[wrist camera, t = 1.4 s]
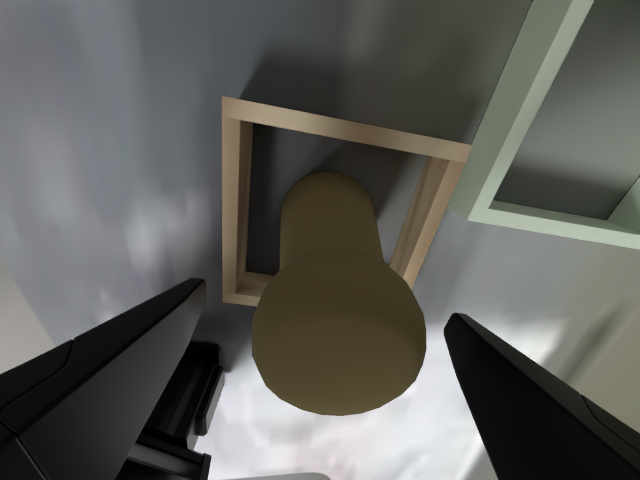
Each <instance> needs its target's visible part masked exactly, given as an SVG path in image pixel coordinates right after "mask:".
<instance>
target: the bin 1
mask: <svg viewBox="0 0 640 480" xmlns="http://www.w3.org/2000/svg"><path fill="white" fill-rule="evenodd" d="M253 122H254V123H259V124H264V125H270V126H275V127H280V128H285V129H291V130H296V131H301V132H306V133H312V134H317V135H322V136H327V137H333V138H338V139H343V140H348V141H354V142H359V143H364V144H369V145H375V146H380V147H385V148H390V149H396V150H401V151H406V152H411V153H417V154H422V155H427V156H428V158H427V160H426V163H425V166H424V169H423V172H422V174H421V177H420V180H419V183H418V186H417V188H416V191H415V194H414V197H413V200H412V202H411V205H410V208H409V211H408V213H407V216H406V219H405V222H404V225H403V227H402V230H401V233H400V236H399V239H398V241H397V244H396V247H395V250H394V253H393V255H392V258H391V261H390V264H389V267H390V268H392V269H393V270H394V271H395V272H396V273H397V274H398V275H400V276H401V277H402V278H403V279H404V280H405V281H406V282H407V284H408V285H409V287H410V289H412V287H413V284H414V282H415V280H416V277H417V275H418V273H419V270H420V268H421V266H422V263H423V261H424V259H425V256H426V254H427V252H428V249H429V247H430V245H431V242H432V240H433V238H434V235H435V233H436V231H437V228H438V226H439V224H440V221H441V219H442V217H443V214H444V212H445V210H446V207H447V205H448V203H449V200H450V198H451V196H452V193H453V191H454V189H455V186H456V184H457V182H458V179H459V177H460V175H461V172H462V170H463V168H464V165H465V163H466V161H467V158H468V156H469V154H470V151H471V149H472V147H473V145H468V144H463V143H458V142H453V141H448V140H443V139H438V138H433V137H428V136H423V135H418V134H413V133H408V132H403V131H398V130H393V129H388V128H383V127H378V126H373V125H367V124H362V123H357V122H352V121H347V120H342V119H337V118H332V117H327V116H322V115H317V114H312V113H307V112H302V111H297V110H292V109H286V108H281V107H276V106H271V105H266V104H261V103H256V102H251V101H246V100H241V99H236V98H230V97H225V96H222V302H225V303H233V304H240V305H248V306H256V307H257V305H258V302H259V300H260V298H261V295H262V293H263V291H264V289H265V287H266V286H267V284H268V283H269V282H270V281H271V279H272V278H273V277H274V275H267V274H260V273H253V272H246V257H247V236H248V215H249V195H250V174H251V153H252V133H253Z"/></svg>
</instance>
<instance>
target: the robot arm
mask: <svg viewBox="0 0 640 480" xmlns="http://www.w3.org/2000/svg"><path fill="white" fill-rule="evenodd" d="M205 302H206V282H205V280H204V279H201V278H190V279H188V280H186V281H184V282H182V283H180V284H178V285H176V286H174V287H172V288H170V289H168V290H166V291H165V292H163V293H161V294H159V295H157V296H155V297H153V298H151V299H149V300H147V301H145V302H143V303H141V304H139V305H137V306H135V307H133V308H132V309H130V310H128V311H126V312H124V313H122V314H120V315H118V316H116V317H114V318H112V319H110V320H108V321H106V322H104V323H102V324H100V325H98V326H97V327H95V328H93V329H91V330H89V331H87V332H85V333H83V334H81V335H79V336H77V337H75V338H74V340H69V341H67V342H65V343H63V344H61V345H59V346H57V347H55V348H54V349H52V350H50V351H48V352H46V353H44V354H41V355H40V356H37V357H35V358H34V359H31V360H29V361H27V362H25V363H23V364H21V365H19V366H17V367H15V368H13V369H10V370H8V371H6V372H4V373H2V374H0V480H207V479H208V474H209V468H210V462H211V455H209V454H206V453H204V454H201V453H198V452H196V451H193V450H194V447H195V444H196V441H197V439H198V436H204V435H206V434H207V432H208V429H209V427H210V424H211V421H212V418H213V415H214V412H215V409H216V406H217V403H218V401H219V398H220V395H221V392H222V389H223V386H224V368H223V366H221V349H220V347H219V346H217V345H214V344H205V343H196V342H190V339H191V337H192V335H193V332H194V330H195V327H196V325H197V322H198V320H199V318H200V315H201V313H202V310H203V308H204V305H205ZM444 337H445V340H446V344H447V347H448V350H449V354H450V357H451V360H452V364H453V367H454V370H455V373H456V376H457V379H458V381H459V384H460V386H461V389H462V391H463V394H464V396H465V399H466V401H467V404H468V406H469V409H470V411H471V414H472V416H473V419H474V421H475V424H476V426H477V429H478V431H479V434H480V436H481V439H482V441H483V444H484V446H485V449H486V451H487V453H488V456H489V458H490V461H491V463H492V466H493V468H494V471H495V473H496V476H497V478H498V480H640V433H638V432H637V431H635V430H634V429H632V428H631V427H629V426H627V425H626V424H624V423H623V422H621V421H620V420H618V419H617V418H616V417H614V416H613V415H611V414H610V413H608V412H607V411H605V410H604V409H602V408H601V407H599V406H598V405H596V404H595V403H593V402H592V401H591V400H589V399H588V398H586V397H585V396H583V395H580V393H579V392H577V391H576V390H575V389H573V388H572V387H570V386H569V385H567V384H566V383H564V382H563V381H562V380H560V379H559V378H557V377H556V376H554V375H553V374H551V373H550V372H549V371H547V370H546V369H544V368H543V367H541V366H540V365H538V364H537V363H536V362H534V361H533V360H531V359H530V358H528V357H527V356H525V355H524V354H523V353H521V352H520V351H518V350H517V349H515V348H514V347H512V346H511V345H509V344H508V343H507V342H505V341H504V340H502V339H501V338H499V337H498V336H496V335H495V334H494V333H492V332H491V331H489V330H488V329H486V328H485V327H483V326H482V325H481V324H479V323H478V322H476V321H475V320H473V319H472V318H470V317H469V316H468V315H466V314H462V313H453V314H452V315H451V317H450V319H449V320H448V322H447V324H446V326H445V328H444Z"/></svg>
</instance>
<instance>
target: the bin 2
mask: <svg viewBox="0 0 640 480" xmlns="http://www.w3.org/2000/svg"><path fill="white" fill-rule="evenodd" d="M593 2H594V0H533V2H532V4H531V6H530V9H529V11H528V13H527V16H526V18H525V20H524V23H523V25H522V27H521V30H520V32H519V34H518V37H517V39H516V42H515V44H514V46H513V49H512V51H511V53H510V56H509V58H508V60H507V63H506V65H505V67H504V70H503V72H502V74H501V77H500V79H499V81H498V84H497V86H496V88H495V91H494V93H493V96H492V98H491V100H490V103H489V105H488V107H487V110H486V112H485V114H484V117H483V119H482V121H481V124H480V126H479V128H478V131H477V133H476V135H475V138H474V140H473V142H472V145H473V147H472V149H471V151H470V154H469V156H468V158H467V161H466V163H465V165H464V168H463V170H462V172H461V175H460V177H459V179H458V182H457V184H456V186H455V189H454V191H453V193H452V196H451V198H450V200H449V203H448V205H447V206H448V207H449V208H451V209H452V210H454V211H455V212H456V213H458V214H459V215H461V216H462V217H463V218H465V219H466V220H469V221H475V222H481V223H487V224H493V225H499V226H505V227H511V228H516V229H522V230H528V231H534V232H540V233H546V234H552V235H558V236H564V237H569V238H575V239H581V240H587V241H593V242H599V243H605V244H611V245H617V246H623V247H628V248H634V249H640V177H639V178H638V179H637V181H636V182H635V183H634V185H633V186H632V187H631V189H630V190H629V191H628V193H627V194H626V195H625V197H624V198H623V199H622V201H621V202H620V203H619V205H618V206H617V207H616V209H615V210H614V211H613V213H612V214H611V215H610V216H609V218H608V219H607V220H601V219H595V218H590V217H584V216H579V215H573V214H567V213H562V212H556V211H551V210H545V209H539V208H534V207H528V206H523V205H517V204H511V203H506V202H500V201H495V200H493V198H494V196H495V194H496V192H497V190H498V188H499V186H500V184H501V182H502V180H503V178H504V176H505V174H506V172H507V170H508V168H509V167H510V165H511V163H512V161H513V159H514V157H515V155H516V153H517V151H518V149H519V147H520V145H521V143H522V141H523V139H524V137H525V135H526V133H527V131H528V129H529V127H530V125H531V123H532V121H533V120H534V118H535V116H536V114H537V112H538V110H539V108H540V106H541V104H542V102H543V100H544V98H545V96H546V94H547V92H548V90H549V88H550V86H551V84H552V82H553V80H554V78H555V76H556V74H557V72H558V71H559V69H560V67H561V65H562V63H563V61H564V59H565V57H566V55H567V53H568V51H569V49H570V47H571V45H572V43H573V41H574V39H575V37H576V35H577V33H578V31H579V29H580V27H581V25H582V23H583V22H584V20H585V18H586V16H587V14H588V12H589V10H590V8H591V6H592V4H593Z"/></svg>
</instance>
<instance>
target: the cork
mask: <svg viewBox="0 0 640 480" xmlns="http://www.w3.org/2000/svg"><path fill="white" fill-rule="evenodd" d="M425 352H426V327H425V321H424V315H423V312H422V310H421V308H420V306H419V304H418V302H417V300H416V298H415V296H414V294H413V292H412V291H411V289H410V287H409V285H408V284H407V282H406V281H405V280H404V279H403V278H402V277H401V276H400V275H398V274H397V273H396V272H395V271H394V270H393V269H392V268H390V267H389V266H388V265H387V264H386V263H385V262H384V259H383V254H382V249H381V244H380V239H379V234H378V229H377V223H376V218H375V213H374V208H373V203H372V201H371V199H370V197H369V195H368V193H367V191H366V189H365V188H364V187H363V186H362V185H361V184H360V183H359V182H357V181H356V180H355V179H353V178H351V177H349V176H347V175H345V174H343V173H338V172H329V171H324V172H319V173H314V174H310V175H308V176H306V177H305V178H303V179H301V180H299V181H298V182H296V183H295V184H294V186H293V187H292V188H291V189H290V190H289V191H288V192H287V194H286V196H285V199H284V201H283V203H282V206H281V222H280V271H279V272H278V273H277V274H276V275H275V276H274V277H273V278H272V279H271V281H270V282H269V283H268V284H267V286H266V287H265V289H264V291H263V293H262V295H261V298H260V300H259V302H258V305H257V307H256V310H255V313H254V316H253V319H252V356H253V358H254V361H255V363H256V366H257V368H258V370H259V372H260V375H261V377H262V379H263V381H264V383H265V385H266V386H267V387H268V388H269V389H270V390H271V391H272V392H273V393H274V394H275V395H276V396H277V397H279V398H280V399H281V400H283V401H285V402H287V403H289V404H291V405H293V406H295V407H297V408H299V409H302V410H305V411H309V412H313V413H317V414H321V415H335V416H344V415H352V414H360V413H364V412H367V411H370V410H373V409H376V408H380V407H381V406H383V405H385V404H386V403H388V402H390V401H392V400H393V399H395V398H397V397H398V396H400V395H402V394H403V393H404V392H405V391H406V390H407V389H408V388H409V387H410V386H411V385H412V384H413V383H414V382H415V380H416V378H417V376H418V374H419V371H420V369H421V367H422V365H423V361H424V357H425Z"/></svg>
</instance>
